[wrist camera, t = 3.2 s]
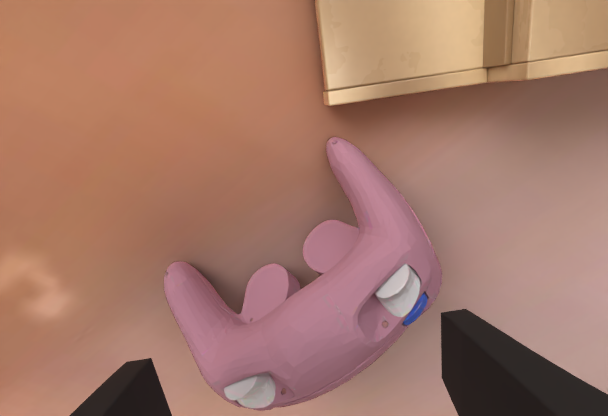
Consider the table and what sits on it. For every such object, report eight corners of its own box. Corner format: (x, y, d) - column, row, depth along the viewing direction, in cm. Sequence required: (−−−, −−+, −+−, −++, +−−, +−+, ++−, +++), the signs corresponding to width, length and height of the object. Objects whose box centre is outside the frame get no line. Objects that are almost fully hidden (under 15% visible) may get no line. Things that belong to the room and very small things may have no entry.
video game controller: (225, 301, 18) (256, 455, 12) (152, 265, 14) (154, 452, 9) (383, 184, 16) (491, 306, 11) (339, 116, 13) (461, 244, 8)
